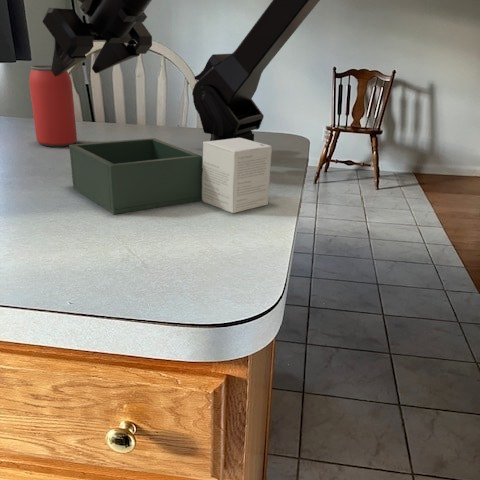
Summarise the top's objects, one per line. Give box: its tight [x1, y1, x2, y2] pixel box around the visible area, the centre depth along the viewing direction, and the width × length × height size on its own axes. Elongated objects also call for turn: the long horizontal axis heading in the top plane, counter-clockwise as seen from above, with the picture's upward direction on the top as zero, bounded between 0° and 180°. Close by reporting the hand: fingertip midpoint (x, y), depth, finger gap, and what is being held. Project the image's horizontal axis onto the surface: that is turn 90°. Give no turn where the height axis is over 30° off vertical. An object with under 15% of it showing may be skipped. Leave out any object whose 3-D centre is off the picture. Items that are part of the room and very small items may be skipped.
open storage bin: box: [68, 137, 203, 215], centre depth 68 cm, size 12×12×6 cm
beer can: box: [28, 64, 78, 148], centre depth 90 cm, size 7×7×12 cm
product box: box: [201, 138, 273, 214], centre depth 66 cm, size 6×6×7 cm
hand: (74, 72), depth 85 cm, fingers open, 9 cm apart
